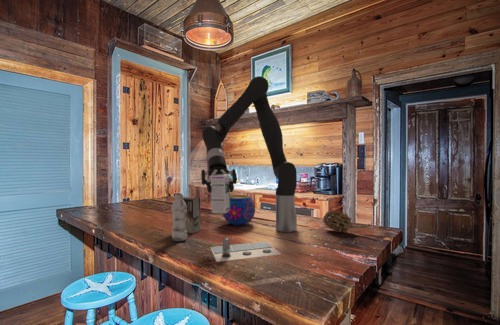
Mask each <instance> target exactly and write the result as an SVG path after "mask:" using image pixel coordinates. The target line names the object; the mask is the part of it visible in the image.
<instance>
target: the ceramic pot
mask: <svg viewBox="0 0 500 325" xmlns="http://www.w3.org/2000/svg"><path fill="white" fill-rule="evenodd" d="M255 213H256V206H255V202H254V201H253V199H252V197H250V196H249V195H246V194H234V195H230V211H228V212H226V213H222V215H223V217H224V219H225V222H227V223H228V224H231V225H234V226H244V225H247V224H249V223H250V222H252V220H253V219H254V216H255Z"/></svg>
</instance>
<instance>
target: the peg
mask: <svg viewBox="0 0 500 325" xmlns="http://www.w3.org/2000/svg"><path fill="white" fill-rule="evenodd" d="M221 239H222V241H221V242H222V245H221V246H222V256H223V257H229V256H230V245H231V239H230V238H229V237H223V238H221Z"/></svg>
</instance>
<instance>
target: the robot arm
mask: <svg viewBox="0 0 500 325" xmlns="http://www.w3.org/2000/svg"><path fill="white" fill-rule="evenodd" d="M269 87H270V86H269V81H268V80H267V78H265V77H264V76H260V75H259V76H255V77H253V78H252V79H251V80H250V81H249V83H248V86H246V89H245V90H244V91H243V93H242V94H241V95H240V96H239V97H238V98H237V100H236V101H235V102H233V103H232V105H231V106H230V107H229V108H227V109H226V110H225V111H224V112H223V114H222V115H221V116H220V117H219V118H218V119H217V124H218V126H219V129H217V128H216V127H215V126H213V125H207V126H204V129H203V130H202V132H201V137H202V141H203V142H204V145H205V147H206V153H207V158H206V159H207V168H208V170H207V171H205V170H204V169H202V170H201V172H200V173H201V174H200V175H201V176H200V177H201V179H200V180H201V185H202V186H206V191H207V193H208V194H211V176H213V175H219V174H227V175H229V186H230V193H233V191H234V189H235V186H234V184H235V185H236V184H237V181H238V176H237V172H236V169H235V168H233V169H232V170H229V169H228V167H227V161H226V156H225V153H224V148H223V145H222V143H224V141H225V138H226V137H227V135H228V134H229V132H230V130H231V128H233V126H235V124H236V123H237V122H238V121H239V120H240V119H241V117H242V116H243V115H244V114H245V112H246V111H247V110H248V109H249V108H250V106H251V105H253V106H254V110H255V112H256V116H257V120H258V124H259V128H260V131H261V134H262V137H263V140H264V143H265V146H266V148H267V151H268V153H269V157H270V162H271V166H272V171H273V175H274V176H275V177H276V178H277V187H276V189H275V230H276V231H277V232H280V233H292V232H295V231H297V230H298V228H297V226H298V224H297V223H298V222H297V218H298V217H297V213H298V212H297V210H296V200H295V199H296V197H295V196H296V189H297V179H298V178H297V177H298V176H297V168H296V166H295V164H294V163H293V162H290V161H288V160H287V158H286V155H285V152H284V143H283V142H284V139H283V132H282V129H281V126H280V123H279V120H278V118H277V115H275V113H274V111H273V110H272V108H271V106H270V102H269V100H268V95H267V92H268V90H269ZM207 176H209V178H208V179H207V180H206V177H207ZM231 177H232V178H231Z"/></svg>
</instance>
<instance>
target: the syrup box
mask: <svg viewBox="0 0 500 325" xmlns="http://www.w3.org/2000/svg"><path fill="white" fill-rule="evenodd" d="M229 176H230V174H228V175H227V174H219V175H213V176H211V193H210V194H211V196H210V197H211V200H210V201H211V213H212V214H223V213H226V212H228V211H230V196H231V192H230V186H229Z"/></svg>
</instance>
